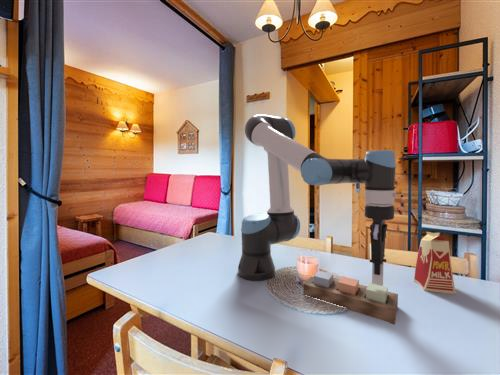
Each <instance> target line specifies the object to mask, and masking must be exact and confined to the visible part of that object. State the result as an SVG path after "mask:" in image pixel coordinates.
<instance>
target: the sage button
mask: <svg viewBox="0 0 500 375" xmlns="http://www.w3.org/2000/svg"><path fill="white" fill-rule="evenodd" d="M388 289H389V287H388V286H384V285H383V286H380V285H376V284H372V282H368V284H367V289H366V298H367V299H370V300H374V301H377V302H381V303H384V304H387V294H388V292H389V291H388Z"/></svg>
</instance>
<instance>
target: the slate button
mask: <svg viewBox="0 0 500 375" xmlns="http://www.w3.org/2000/svg"><path fill="white" fill-rule="evenodd" d="M315 273H316V274H315V275H314V281H313V284H316V285H320V286H323V287H327V288H330V287H331V286H332V284H333V278H334V274H333V273H331V272H326V271H323V270H318V271H317V272H315Z"/></svg>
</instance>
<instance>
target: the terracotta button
mask: <svg viewBox="0 0 500 375" xmlns="http://www.w3.org/2000/svg"><path fill="white" fill-rule="evenodd" d="M359 284H360V280H359V279H356V278H351V277H346V276H344V275H343V276H341V277H340V280H339V282H338V291H341V292H345V293H349V294H352V295H356V296H357V294H358V292H359Z"/></svg>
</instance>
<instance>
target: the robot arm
mask: <svg viewBox="0 0 500 375" xmlns="http://www.w3.org/2000/svg"><path fill="white" fill-rule="evenodd" d="M244 135H245V137H246V138H247V140H248V141H249V142H250V143H251V144H253V145H254V146H256V147H262V148H263V150H264V151H265V152H266V153H267V166H268V167H267V168H268V170H267V171H268V184H269V185H268V187H269V189H268V190H269V204H270V207H269V208H268V209H267V211H266V212H267V213H254V214H250V215H247V216H245V217H244V218H243V219H242V220H241V229H240V232H241V256H240V260H239V263H238V266H237V275H238V276H239V277H241V278H242V279H244V280H247V281H256V282H257V281H264V280H268V279H271V278H272V277H274V276H275V274H276V266H275V264H274V260H273V257H272V255H271V254H272V252H271V251H272V250H271V246H272V245H275V244H279V243H284V242H288V241H289V242H290V241H291V240H293V239H295V238H297V237H298V235H299V234H300V231H301V221H300V218H299V217H298V215H296V214H295V209H294V208H292V207H291V200H290V199H291V198H290V179H289V178H290V177H289V166H291V167H292V168H293V169H295V170H296V171H298V172H299V173H300V175H301V178H302V180H303V181H304V182H305V183H306V184H308V185H309V186H310V185H311V186H324V185H335V184H336V185H337V184H364V203H365V205H364V216H365V218H366V219H370V220H372V222H371V224H370V228H369V230H370V232H369V236H370V255H371V257H370V258H371V259H369V263H372V265H371V266H372V270H371V272H372V273H371V276H372V277H371V283H372V284H376V285H380V286H384V263H387V259H386V258H385V257H386V255H385V249H386V238H387V229H388V224H387V223H386V222H385V221H390V220H391V221H392V220H393V219H395V206H394V204H395V198H397V197H398V194H397V193H396V192H395V189H396V188H395V187H396V168H397V165H396V164H397V163H396V152H394V151H393V150H390V149H389V150H388V149H380V150H379V149H377V150H368V151H366V153H365V157H364V158H351V159H348V158H346V159H343V158H327V157H325V156H322V155H321V154H319V153H317V152H316V151H314V150H312V149H310V148H309V147H307V146H305V145H303V144H301V143H299V142H298V141H296V140H294V139H295V138H296V127H295V125H294V123H293V121H291V120H290V119H289V118H285V117H283V116H274V115H268V114H254V115H252V116H251V117H249V119H248V120H247V121H246V123H245V126H244ZM385 223H386V224H385Z"/></svg>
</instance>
